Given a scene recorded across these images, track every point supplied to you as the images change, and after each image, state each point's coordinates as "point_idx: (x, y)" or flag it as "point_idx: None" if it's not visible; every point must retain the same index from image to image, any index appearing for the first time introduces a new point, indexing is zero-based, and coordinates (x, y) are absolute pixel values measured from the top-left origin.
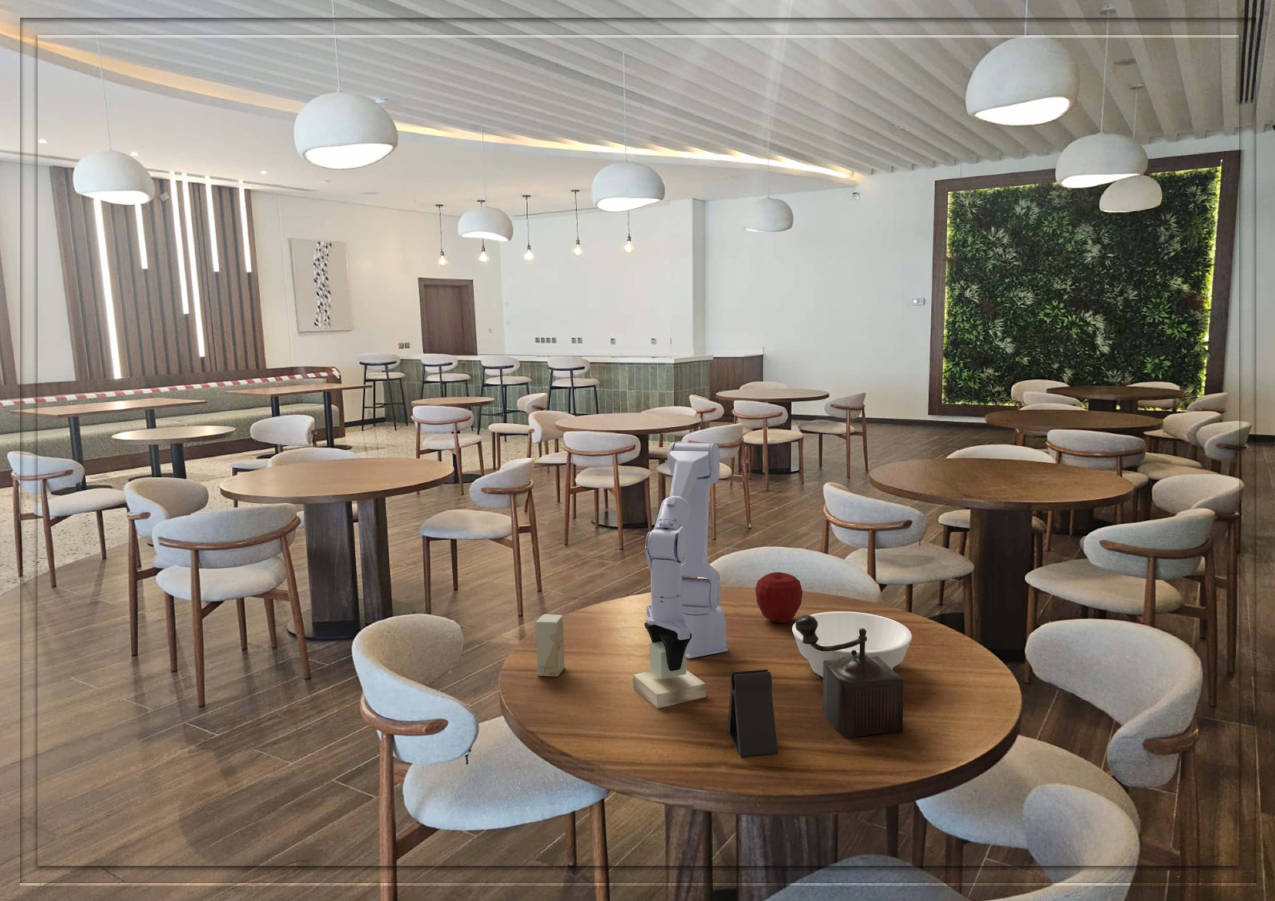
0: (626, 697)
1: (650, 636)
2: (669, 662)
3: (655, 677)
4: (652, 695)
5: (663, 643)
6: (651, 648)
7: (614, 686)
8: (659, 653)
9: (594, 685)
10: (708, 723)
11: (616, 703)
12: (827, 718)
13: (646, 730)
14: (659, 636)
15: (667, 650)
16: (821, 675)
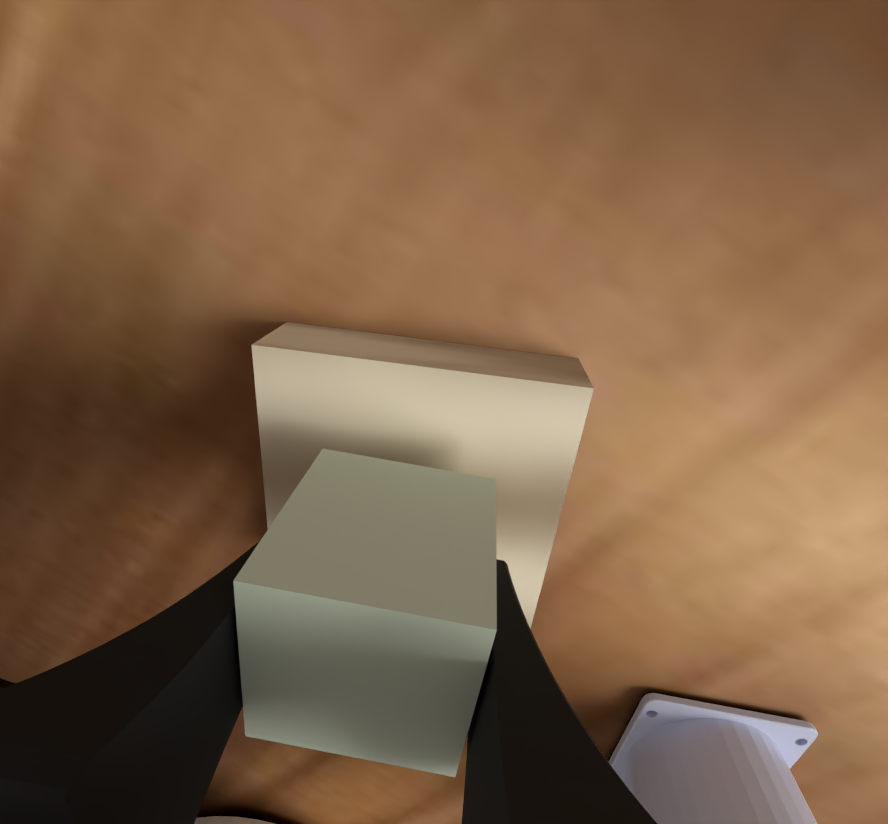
0: (492, 255)
1: (555, 711)
2: (240, 557)
3: (467, 466)
4: (320, 343)
5: (152, 682)
6: (458, 593)
7: (670, 276)
8: (276, 572)
9: (790, 166)
10: (68, 419)
11: (457, 154)
12: (9, 685)
13: (68, 124)
14: (483, 752)
15: (142, 629)
16: (242, 820)
